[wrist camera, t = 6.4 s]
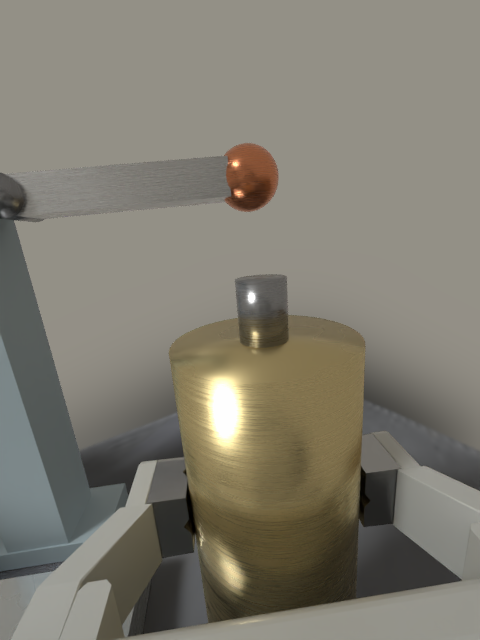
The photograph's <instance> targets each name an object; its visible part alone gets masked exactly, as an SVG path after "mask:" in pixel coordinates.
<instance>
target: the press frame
mask: <svg viewBox="0 0 480 640" xmlns="http://www.w3.org/2000/svg"><path fill="white" fill-rule="evenodd" d="M127 498H128V493H127V489H126V485H125V483H122V484H115V485H108V486H101V487H95V488H89V484H88V480H87V477H86V473H85V470H84V466H83V463H82V459H81V456H80V452H79V449H78V445H77V442H76V438H75V435H74V431H73V428H72V424H71V421H70V417H69V413H68V410H67V406H66V403H65V399H64V396H63V392H62V389H61V386H60V382H59V379H58V375H57V371H56V368H55V364H54V360H53V358H52V353H51V350H50V346H49V343H48V339H47V336H46V332H45V329H44V325H43V322H42V318H41V315H40V311H39V308H38V304H37V301H36V297H35V293H34V290H33V286H32V283H31V280H30V276H29V272H28V269H27V265H26V262H25V259H24V255H23V252H22V248H21V244H20V240H19V237H18V234H17V230H16V226H15V223H14V220H8V219H0V572H1V571H7V570H13V569H19V568H25V567H32V566H38V565H44V564H50V563H56V562H63V561H65V560H66V559H67V558H68V557H69V556H71V555H72V554H73V553H74V552H75V551H76V550H77V549H78V548H79V547H80V546H81V545H82V544H83V543H84V542H85V541H86V540H87V539H88V538H89V537H90V536H91V535H92V534H93V533H94V532H95V531H96V530H97V529H98V528H99V527H101V526H102V525H103V524H104V523H105V522H106V521H107V520H108V519H109V518H110V517H111V516H112V515H113V514H114V513H115V512H116V511H117V510H118V509H119V508H122V507H125V504H126V501H127Z"/></svg>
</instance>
